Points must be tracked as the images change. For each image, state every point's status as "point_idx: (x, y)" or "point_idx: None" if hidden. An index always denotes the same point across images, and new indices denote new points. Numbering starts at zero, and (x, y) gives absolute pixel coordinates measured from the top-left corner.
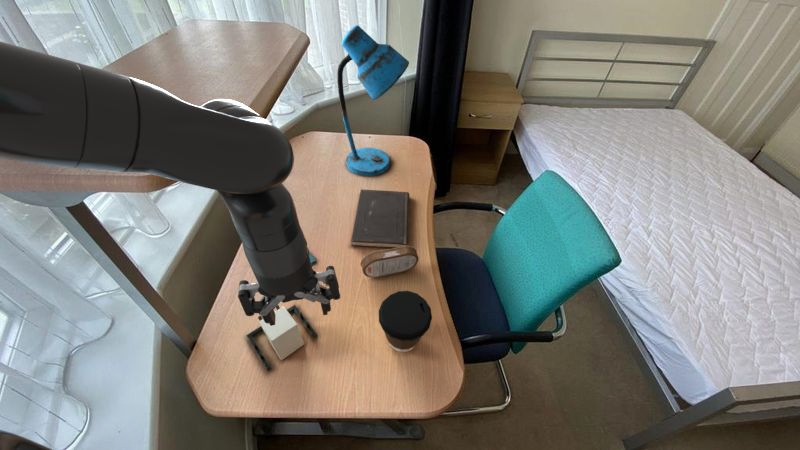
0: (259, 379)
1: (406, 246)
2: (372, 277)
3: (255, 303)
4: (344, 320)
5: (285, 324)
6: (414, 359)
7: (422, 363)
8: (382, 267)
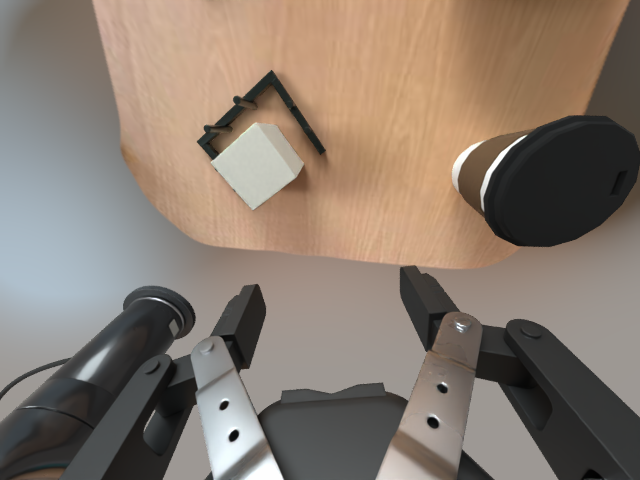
0: (246, 214)
1: None
2: None
3: (178, 391)
4: (377, 118)
5: (271, 175)
6: None
7: None
8: None
